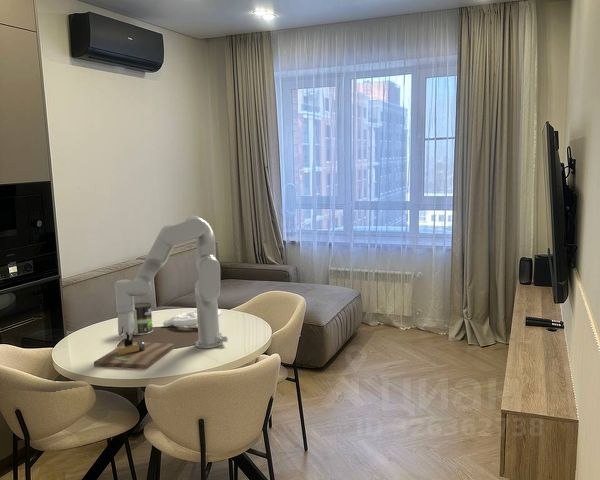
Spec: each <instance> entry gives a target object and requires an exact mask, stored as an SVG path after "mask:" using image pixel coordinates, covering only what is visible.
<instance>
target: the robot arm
mask: <svg viewBox="0 0 600 480" xmlns="http://www.w3.org/2000/svg"><path fill="white" fill-rule="evenodd" d="M194 239H195V243H196V244H195V245H196V261H195V266H196V267H195V268H196V270H197V271H198V279H197V280H196V282H195V284H194V295H195V301H196V302H195V303H196V310H197V320H198V324H197V333H198V334H197V335H198V340H197V341H195V347H197V348H199V349H213V348H218V347H220V346H222V345H223V344H224V343H227V342H228V341H229V339H228V338H229V337H228V336H227V335H226V336H223V335H222V332H220V325H219V317H218V310H219V304H218V303H219V302H218V298H219V296H220V293H221V266H220V265H221V264H220V262H219V260H218V259H217V252H216V251H217V250H216V249H217V247H216V236H215V232H214V230H213V229H212V227H211V225H210V224H209V223H208V222H207V221H206V220H204V219H203V218H201V217H200V216H197V215H190V216H188V217H187V218H186V219H185V221H183V222H180V223H177V224H166V225H164V226H163V227H162V228H161V229H160V231H159V233H158V235H157V236H156V238H155V241H154V243H153V244H152V246H151V248H150V250H149V252H148V253H147V255H146V257H145V259H144V261H143V262H142V265H141V266H140V268H139V269H138V272H137V273H136V276H135V277H134V279H133V280H131V279H119V280H117V281H116V282H115V283H114V293H115V304H116V306H115V307H116V313H117V335H118V336H120V337H121V336H122V339H123V341H124V343H123V344H124V345H125V346H127V345H132V344H133V342H134V341H133V334H132V332H133V331H134V329H135V321H134V313H133V312H134V311H135V305H134V304H135V297H146V296H148V295H149V294H150V293H151V291H152V288H153V287H152V283H153V280H154V279H155V276H156V275H157V273H158V272H159V270H160V269H161V268H162V267H163V266H165V264H166V263H167V261H168V260H169V258H170V255H171V253H172V252H173V249H175V246H177V245H181V244H184V243H186V242H188V241H189V242H190V241H192V240H194Z"/></svg>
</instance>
